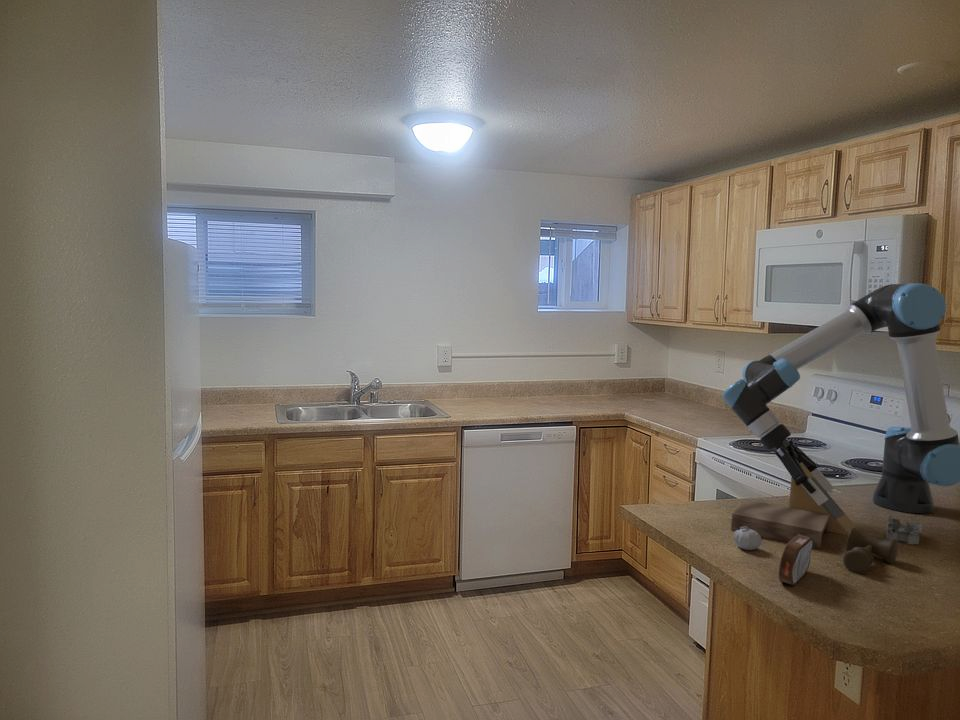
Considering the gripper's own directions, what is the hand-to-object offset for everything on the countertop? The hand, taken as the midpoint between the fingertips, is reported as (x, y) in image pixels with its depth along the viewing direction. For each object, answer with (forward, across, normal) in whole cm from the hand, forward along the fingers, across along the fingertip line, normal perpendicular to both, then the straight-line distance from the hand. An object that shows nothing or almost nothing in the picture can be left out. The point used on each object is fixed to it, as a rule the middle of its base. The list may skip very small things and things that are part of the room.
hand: (827, 496), depth 177 cm
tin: (+5, +44, -6) cm, 45 cm away
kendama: (+13, +22, +2) cm, 26 cm away
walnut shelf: (-1, +13, -11) cm, 17 cm away
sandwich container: (+5, 0, -6) cm, 8 cm away
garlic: (-3, +32, -14) cm, 35 cm away
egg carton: (+18, -3, +7) cm, 19 cm away
